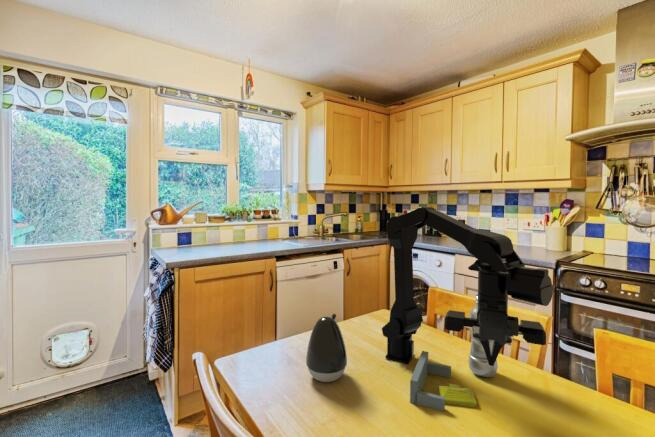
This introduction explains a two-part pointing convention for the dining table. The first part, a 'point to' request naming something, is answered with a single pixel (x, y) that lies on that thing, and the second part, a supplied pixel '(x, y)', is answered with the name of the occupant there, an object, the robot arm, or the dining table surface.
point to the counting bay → (419, 379)
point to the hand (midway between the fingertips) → (491, 364)
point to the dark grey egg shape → (326, 350)
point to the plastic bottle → (480, 352)
